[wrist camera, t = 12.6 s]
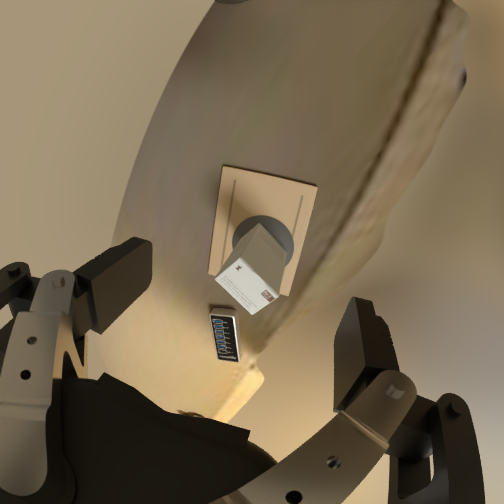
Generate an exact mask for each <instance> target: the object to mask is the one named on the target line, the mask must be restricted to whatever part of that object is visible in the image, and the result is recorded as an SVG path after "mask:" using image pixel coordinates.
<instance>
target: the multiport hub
mask: <svg viewBox="0 0 504 504" xmlns="http://www.w3.org/2000/svg"><path fill="white" fill-rule="evenodd" d="M209 316H210V322H211V328H212V333H213V338H214V344H215V349H216V354H217V358H218V359H219V360H223V361H230V362H237V363H238V362H240V360H241V357H242V347H241V339H240V330H239V321H238V312H237V310H235V309H224V308H213V310H212V311H211V313H210V315H209Z"/></svg>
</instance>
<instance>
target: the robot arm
mask: <svg viewBox="0 0 504 504" xmlns="http://www.w3.org/2000/svg"><path fill="white" fill-rule="evenodd" d="M215 1H217V2H221V3H229V4H230V3H239V2H243V1H246V0H215ZM151 279H152V243H151V242H150V241H148V240H144V239H141V238H138V237H132V238H130V239H129V240H127V241H125V242H124V243H122V244H121V245H118V246H115V247H112V248H109V249H108V250H106V251H104V252H103V253H101V255H98V256H97V257H95V259H92V260H90V261H89V262H87V263H86V264H85V265H83V266H81V267H80V268H78V269H77V270H75V271H74V272H70V271H67V270H54V271H51V272H49V273H47V274H45V275H44V276H43V277H42V278H36V277H31V273H30V269H29V266H28V264H26V263H24V262H15V263H11V264H9V265H7V266H5V267H4V268H2V269H1V270H0V309H2V308H3V307H4V306H5V305H6V304H9V307H10V310H11V313H12V316H13V319H12V320H10V321H9V322H8V323H7V324H6V325H5V326H4V327H3V328H2V329H0V504H341V503H342V502H343V501H344V500H345V499H346V498H347V497H348V496H349V495H350V494H351V493H352V492H353V491H354V489H355V488H356V487H357V486H358V485H359V484H360V483H361V482H362V480H363V479H364V478H365V477H366V476H367V474H368V473H369V472H370V471H371V470H372V469H373V467H374V466H375V465H376V464H377V462H378V461H379V460H380V458H381V457H382V456H383V454H384V453H385V454H388V455H390V471H389V493H388V504H485V492H484V482H483V474H482V467H481V460H480V454H479V449H478V444H477V439H476V434H475V430H474V426H473V422H472V418H471V414H470V410H469V408H468V405H467V404H466V402H465V401H464V400H463V399H462V398H461V397H459V396H458V395H456V394H452V393H446V394H443V395H442V396H441V397H440V398H439V399H438V400H437V401H436V402H434V401H431V400H429V399H426V398H424V397H421V396H419V395H417V390H416V387H415V385H414V383H413V381H412V380H411V379H410V378H409V377H408V376H406V375H405V374H403V373H402V372H400V370H399V365H398V361H397V357H396V353H395V349H394V346H393V342H392V338H390V337H391V335H390V331H389V328H388V325H387V324H386V323H385V321H384V320H383V319H382V317H380V316H376V314H375V310H374V307H373V303H372V301H370V300H365V299H361V298H358V297H352V298H351V300H350V302H349V304H348V306H347V309H346V311H345V313H344V315H343V318H342V320H341V322H340V325H339V327H338V329H337V331H336V335H335V340H334V408H333V412H337V413H338V414H337V415H336V416H335V417H334V418H333V419H332V420H331V421H329V422H328V423H327V424H326V425H325V426H324V427H323V428H322V429H320V430H319V431H318V432H317V433H316V434H315V435H313V436H312V437H311V438H310V439H309V440H307V441H306V442H305V443H304V444H302V445H301V446H300V447H299V448H297V449H296V450H295V451H293V452H292V453H291V454H290V455H288V456H287V457H286V458H284V459H283V460H282V461H280V462H279V463H278V462H277V461H276V460H274V458H273V457H272V456H271V455H269V454H268V453H267V452H266V451H264V450H263V449H262V448H260V447H258V446H257V445H255V444H254V443H251V442H250V441H248V437H249V434H250V430H247V429H243V428H239V427H236V426H232V425H229V424H226V423H223V422H219V421H216V420H213V419H210V418H201V417H194V416H187V415H181V414H175V413H170V412H167V411H164V410H163V409H161V408H160V407H159V406H157V405H156V404H155V403H153V402H152V401H151V400H149V399H148V398H147V397H146V396H144V395H143V394H142V393H140V392H139V391H138V390H137V389H135V388H134V387H132V386H130V385H128V384H126V383H124V382H122V381H120V380H118V379H116V378H114V377H112V376H110V375H108V374H107V373H105V372H104V373H103V374H102V376H101V377H100V378H99V379H98V380H93V379H88V373H87V372H88V370H87V356H88V336H87V331H88V330H89V329H92V330H93V331H95V332H97V333H99V334H102V333H103V332H104V331H105V330H106V329H107V328H108V327H109V326H110V325H111V324H112V323H113V322H114V321H115V320H116V319H117V318H118V317H119V316H120V315H121V314H122V313H123V312H124V311H125V310H126V309H127V308H128V307H129V306H130V305H131V304H132V303H133V302H134V301H135V300H136V299H137V298H138V297H139V296H140V295H141V294H142V293H143V292H144V291H145V290H146V289H147V288H148V287H149V285H150V283H151ZM432 454H433V463H434V476H433V479H432V481H431V474H430V459H429V456H430V455H432Z"/></svg>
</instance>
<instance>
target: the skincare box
mask: <svg viewBox="0 0 504 504" xmlns="http://www.w3.org/2000/svg"><path fill="white" fill-rule="evenodd" d="M286 256H287V252H286V251H285V250H284V248H283V247H282V246H281V245H280V244H279V243H278V242H277V241H276V240H275V239H274V238H273V236H272V235H271V234H270V233H269V232H268V231H267V230H266V229H265V228H264V227H263V226H262V225H261V224H260V223H258V224H257V225H256V226H255V227H253V228H252V229H251V230H250V231H249V232H248V233H247V234H245V235H244V236H243V237H242V238H241V239H240V240H239V242H238V244H237V245H236V247H235V248H234V250H233V251H232V252H231V254H230V256H229V257H228V259H227V260H226V262H225V263H224V265H223V266H222V268H221V269H220V271H219V272H218V274H217V275H216V277H215V280H216V281H217V282H218V283H219V284H220V285H221V286H222V287H223V288H224V289H225V290H226V291H227V292H229V293H230V294H231V295H232V296H233V297H234V298H235V299H236V300H237V301H238V302H239V303H240V304H241V305H242V306H243V307H244V308H245V309H246V310H247V311H248V312H250V313H251V314H252V315H253V314H254V313H256V312H257V311H259V310H260V309H262V308H263V307H264V306H266V305H267V304H269V303H270V302H272V301H273V300H275V299H276V298H278V297H279V293H280V287H281V282H282V277H283V272H284V267H285V261H286Z"/></svg>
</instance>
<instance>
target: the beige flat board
mask: <svg viewBox="0 0 504 504" xmlns="http://www.w3.org/2000/svg"><path fill="white" fill-rule="evenodd" d="M317 189H318V187H317V186H313V185H309V184H305V183H301V182H297V181H293V180H289V179H284V178H280V177H276V176H271V175H267V174H262V173H257V172H253V171H248V170H243V169H238V168H233V167H228V166H223V171H222V177H221V184H220V190H219V197H218V204H217V210H216V218H215V225H214V232H213V240H212V247H211V255H210V263H209V272H208V274H210V275H214V276H216V275H217V274H218V272H219V271H220V269H221V268H222V266H223V265H224V263H225V262H226V260H227V259H228V257H229V256H230V254H231V252H232V251H233V250H234V248H235V247H236V245H237V244H238V242H239V240H240V239H241V238H242V237H243V236H244V235H245V234H247V233H248V232H249V231H250V230H251V229H252V228H253V227H255V226H256V225H257V224H258V223H260V224H261V225H262V226H263V227H264V228H265V229H266V230H267V231H268V232H269V233H270V234H271V235H272V236H273V238H274V239H275V240H276V241H277V242H278V243H279V244H280V245H281V246H282V247H283V248H284V250H285V251H286V252H287V256H286V261H285V267H284V272H283V277H282V282H281V287H280V293H279V294H283V295H286V296H288V295H289V292H290V289H291V285H292V282H293V278H294V275H295V271H296V268H297V264H298V261H299V257H300V254H301V250H302V247H303V243H304V239H305V235H306V232H307V228H308V224H309V220H310V217H311V213H312V209H313V205H314V201H315V197H316V193H317Z"/></svg>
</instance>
